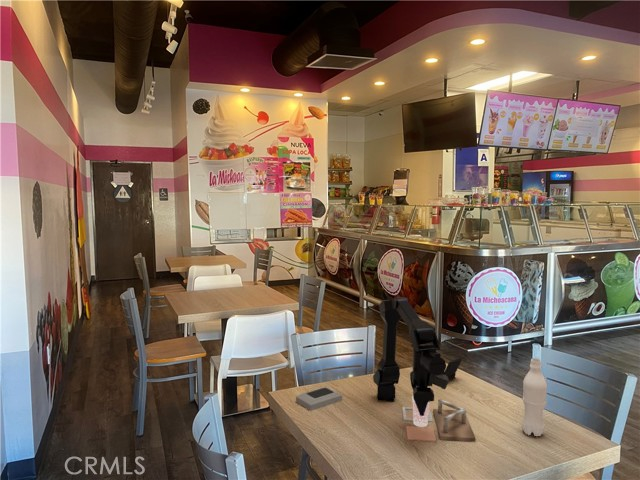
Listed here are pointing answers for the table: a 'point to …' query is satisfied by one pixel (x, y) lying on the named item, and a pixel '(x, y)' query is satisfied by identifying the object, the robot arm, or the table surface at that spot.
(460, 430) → the wire board
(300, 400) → the keypad
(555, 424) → the table surface
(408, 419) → the frame
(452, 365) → the dark piece
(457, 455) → the table surface
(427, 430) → the end mat
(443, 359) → the robot arm
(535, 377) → the water bottle
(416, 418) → the beverage cup
